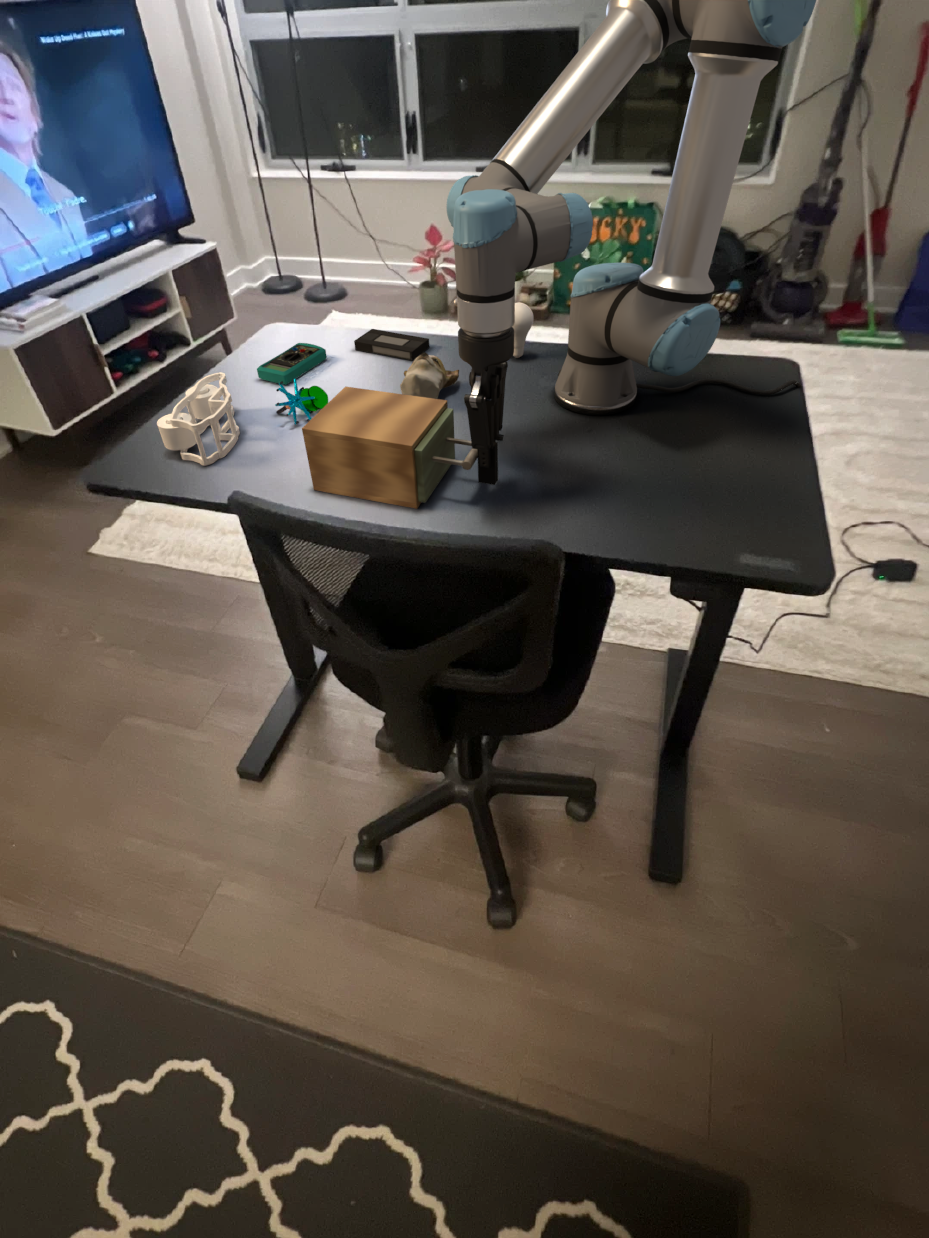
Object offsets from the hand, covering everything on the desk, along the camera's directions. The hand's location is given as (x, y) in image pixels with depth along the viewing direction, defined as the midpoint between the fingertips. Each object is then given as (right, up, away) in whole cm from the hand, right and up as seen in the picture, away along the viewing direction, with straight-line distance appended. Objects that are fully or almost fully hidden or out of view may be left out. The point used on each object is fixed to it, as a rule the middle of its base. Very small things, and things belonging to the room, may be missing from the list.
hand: (488, 481), depth 110 cm
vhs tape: (-19, +37, +44) cm, 60 cm away
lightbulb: (+7, +33, +39) cm, 52 cm away
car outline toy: (-49, +11, +17) cm, 53 cm away
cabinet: (-17, +2, +6) cm, 18 cm away
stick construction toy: (-34, +17, +23) cm, 45 cm away
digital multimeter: (-39, +30, +37) cm, 62 cm away
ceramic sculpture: (-11, +22, +27) cm, 36 cm away
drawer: (-12, +2, +4) cm, 13 cm away
